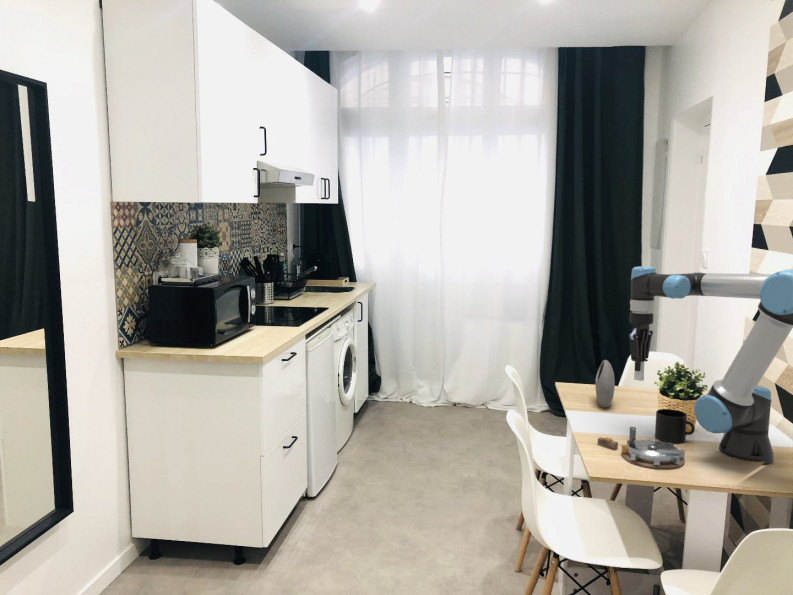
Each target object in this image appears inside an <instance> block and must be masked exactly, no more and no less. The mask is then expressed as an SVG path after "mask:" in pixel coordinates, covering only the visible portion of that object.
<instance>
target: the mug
mask: <svg viewBox="0 0 793 595" xmlns="http://www.w3.org/2000/svg"><path fill="white" fill-rule="evenodd" d="M687 417H688V414H687V413H686V412H684V411H682V410H677V409H672V408H662V409H661V408H660V409H657V410H656V411H655V427H654V437H655V439H656V440H657V441H659V442H663V443H672V444H683V443H685V442H686V440H687V439H686V438H687V437H686V436H689V435H692V434H693V433H694V432H695V428H696V427H695V425H694V424H693V423H692V422H691V421H688V420H687V419H688V418H687ZM687 425H689V426H690V427H691V430H690V431H687Z"/></svg>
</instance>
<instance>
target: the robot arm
mask: <svg viewBox="0 0 793 595" xmlns="http://www.w3.org/2000/svg"><path fill="white" fill-rule="evenodd" d="M688 296H689V297H690V296H698V297H700V296H701V297H719V298H721V297H722V298H734V299H735V298H737V299H739V298H740V299H754V300H760V301H759V303H758V305H757V308H758V311H759V315H758V318H757V319H756V321H755V322H754V324H753V325H752V327H751V329H750V331H749V333H748V335H747V336H746V338H745V340H744V342H743V343H742V345H741V346H740V348H739V349H738V351H737V354H736V355H735V356H734V359H733V360H732V363H731V364H730V365H729V367H728V369H727V371H726V372H725V374H724V375H723V378H721V379H717V380H715V381H714V382H713V384H712V386H711V387H710V389H709V391H708V392H707V393H706V394H703V395H701V396H700V397H698V398H697V399H696V400H695V402H694V405H693V413H694V415H695V418H696V421H697V423H698V424H699V425H700V427H701V428H703V429H704V430H706V431H707V432H709V433H711V434H716V435H717V434H723V436H722V438H721V440H720V442H719V444H718V451H719V452H720V453H721V454H723V455H725V456H727V457H730V458H733V459H736V460H738V461H739V460H740V461H745V462H757V463H762V464H761V465H768V464H771V463H773V462H774V450H773V448H772V443H771V440H770V437H769V436H770V435H769V430H770V429H769V428H770V420H771V419H770V418H771V403H772V402H773V401H772V391H771V390H770V389H769V388H768V387H765V386H761V385H759V383H760V382H761V380H762V379H763V376H764V375H765V374H766V372H767V370H768V369H769V367H770V366H771V364H772V362H773V361H774V359H775V358H776V356H777V354H778V352H779V351H780V350H781V347H782V346H783V344H784V343H785V341H786V339H787V338H788V336H789V335H790V333H791V331H792V329H793V269H792V268H789V269H783V270H780V271H775V272H774V273H772V274H770V273H769V274H767V273H717V272H715V273H714V272H713V273H712V272H710V273H709V272H708V273H706V272H692V273H691V272H690V273H674V274H673V273H672V274H671V273H670V274H668V273H667V274H666V273H657V272H656V268H655V267H654V266H634V267H633V268H632V269H631V277H630V301H629V304H630V308H629V310H630V312H629V323H630V324H632V329H631V330H632V332H631V333H628V335H627V338H628V339H629V340H628V341H629V350H630V360H631V361H632V362H634V374H633V376H634V377H633V378H634V379H633V380H634V381H641V382H642V381H644V380H645V362H648V360H649V355H650V350H651V349H650V348H651V343H652V342H651V341H652V337H653V334H654V330H651V329H650V325H652V324H654V313H653V312H654V311H655V297H659V298H670V299H672V300H674V299H679V300H681V299H684V298H685V297H688Z"/></svg>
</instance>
